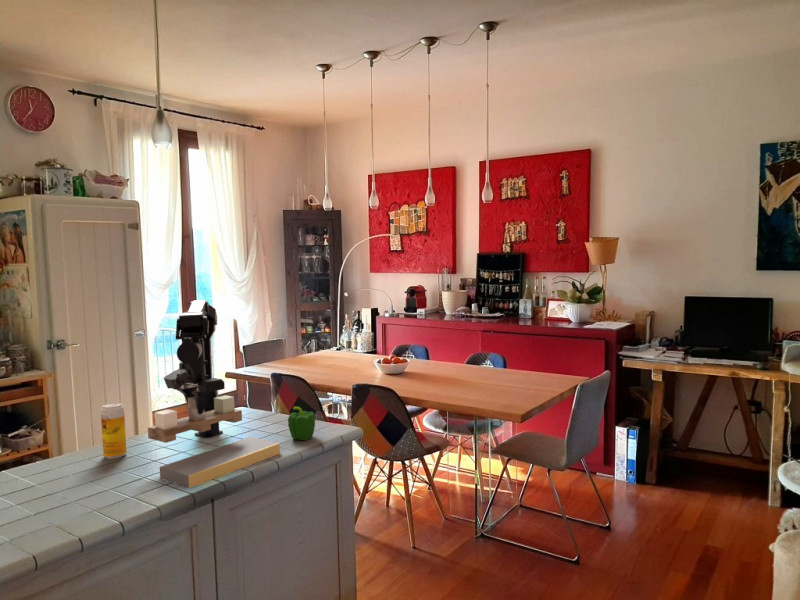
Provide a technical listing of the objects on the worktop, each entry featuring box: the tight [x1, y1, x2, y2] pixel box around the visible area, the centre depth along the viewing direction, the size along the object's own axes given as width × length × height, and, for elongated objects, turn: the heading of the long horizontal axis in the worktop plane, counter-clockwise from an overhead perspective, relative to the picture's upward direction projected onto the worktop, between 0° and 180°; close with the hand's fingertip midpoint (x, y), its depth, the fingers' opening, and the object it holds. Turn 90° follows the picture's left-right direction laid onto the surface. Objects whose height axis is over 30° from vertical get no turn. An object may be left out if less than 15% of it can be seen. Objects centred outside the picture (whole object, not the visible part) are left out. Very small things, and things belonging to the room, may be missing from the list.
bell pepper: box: [287, 406, 316, 441], centre depth 186 cm, size 8×8×10 cm
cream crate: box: [154, 409, 178, 429], centre depth 161 cm, size 4×4×4 cm
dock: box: [159, 436, 281, 489], centre depth 163 cm, size 13×30×3 cm, turn 145°
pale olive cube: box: [214, 394, 236, 413], centre depth 176 cm, size 4×4×4 cm
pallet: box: [147, 396, 243, 443], centre depth 168 cm, size 8×25×9 cm, turn 145°
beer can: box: [100, 402, 128, 460], centre depth 174 cm, size 6×6×15 cm
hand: (196, 413), depth 168 cm, fingers closed on pallet, 3 cm apart
